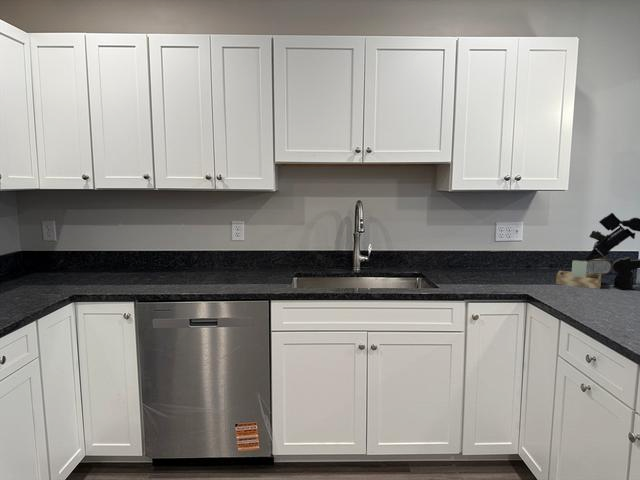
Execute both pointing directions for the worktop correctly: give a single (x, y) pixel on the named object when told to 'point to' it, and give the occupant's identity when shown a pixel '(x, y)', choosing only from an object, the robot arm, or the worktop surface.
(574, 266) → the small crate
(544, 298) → the worktop surface
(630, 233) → the robot arm
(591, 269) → the tin
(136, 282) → the worktop surface
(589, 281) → the wooden board
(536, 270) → the worktop surface
